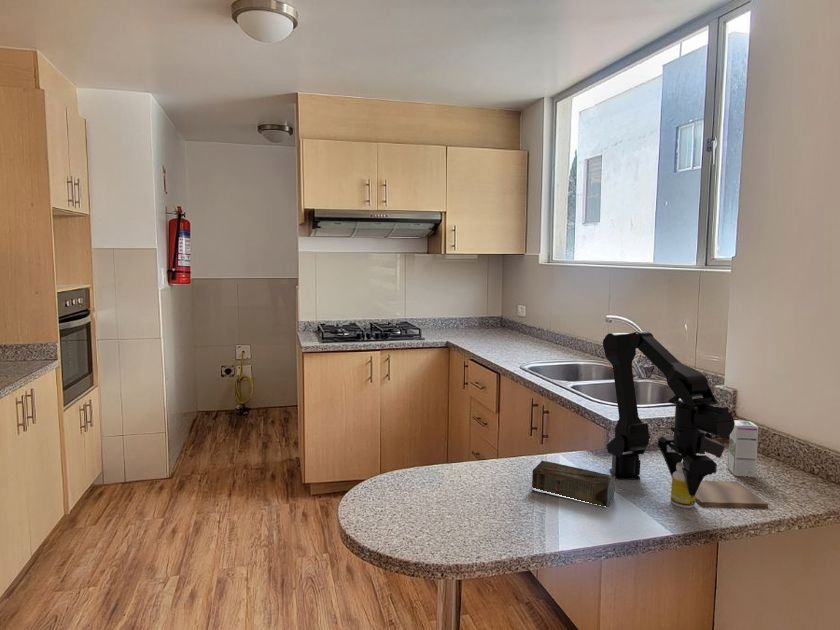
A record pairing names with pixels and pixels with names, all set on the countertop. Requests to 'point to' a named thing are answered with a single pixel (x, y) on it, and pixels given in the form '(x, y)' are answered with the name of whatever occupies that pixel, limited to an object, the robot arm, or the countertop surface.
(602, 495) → the beverage carton
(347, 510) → the countertop surface
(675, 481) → the supplement bottle
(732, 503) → the walnut board
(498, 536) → the countertop surface
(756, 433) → the syrup box
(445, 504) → the countertop surface
